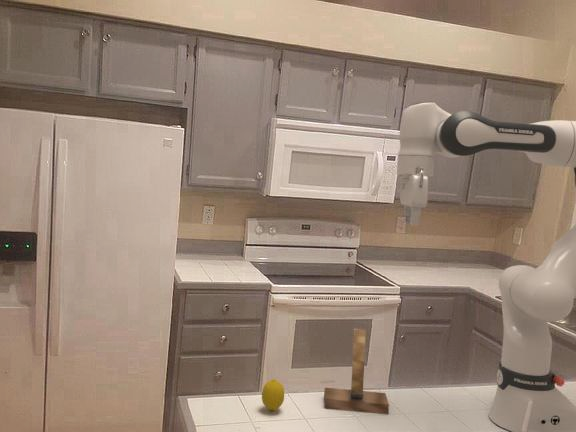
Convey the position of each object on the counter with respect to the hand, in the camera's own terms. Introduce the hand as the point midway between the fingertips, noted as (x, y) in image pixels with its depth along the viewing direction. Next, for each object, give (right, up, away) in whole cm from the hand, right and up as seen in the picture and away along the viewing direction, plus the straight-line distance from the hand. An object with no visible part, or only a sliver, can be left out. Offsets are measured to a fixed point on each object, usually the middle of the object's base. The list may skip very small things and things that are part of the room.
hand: (411, 224), depth 130 cm
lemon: (-34, -46, -1) cm, 58 cm away
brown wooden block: (-13, -47, +6) cm, 49 cm away
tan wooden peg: (-13, -43, +3) cm, 45 cm away
